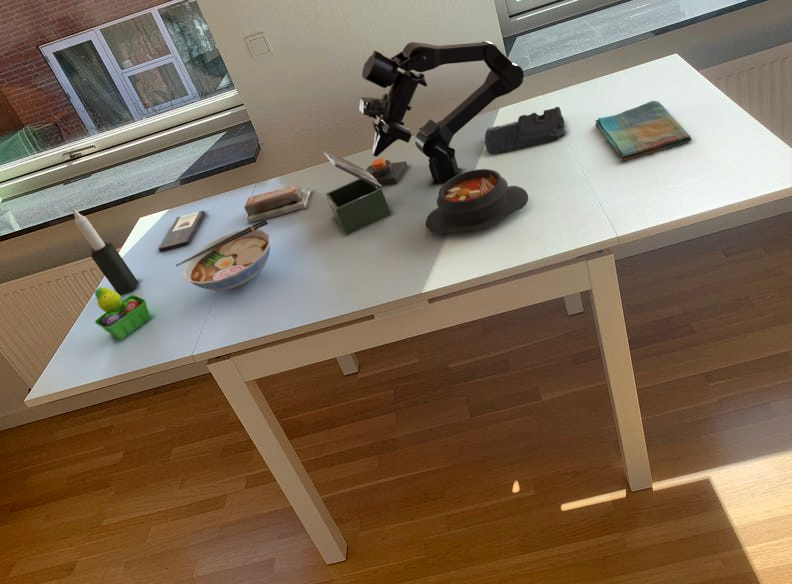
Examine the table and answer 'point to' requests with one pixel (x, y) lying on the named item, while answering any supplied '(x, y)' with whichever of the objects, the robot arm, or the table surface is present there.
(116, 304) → the fruit basket
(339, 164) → the grey flat plate
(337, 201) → the dark green boxy piece
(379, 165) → the button
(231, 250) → the ramen bowl
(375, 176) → the pad
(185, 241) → the chocolate bar
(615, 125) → the dish towel
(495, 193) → the casserole
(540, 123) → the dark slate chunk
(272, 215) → the packaged product
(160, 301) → the table surface
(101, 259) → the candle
